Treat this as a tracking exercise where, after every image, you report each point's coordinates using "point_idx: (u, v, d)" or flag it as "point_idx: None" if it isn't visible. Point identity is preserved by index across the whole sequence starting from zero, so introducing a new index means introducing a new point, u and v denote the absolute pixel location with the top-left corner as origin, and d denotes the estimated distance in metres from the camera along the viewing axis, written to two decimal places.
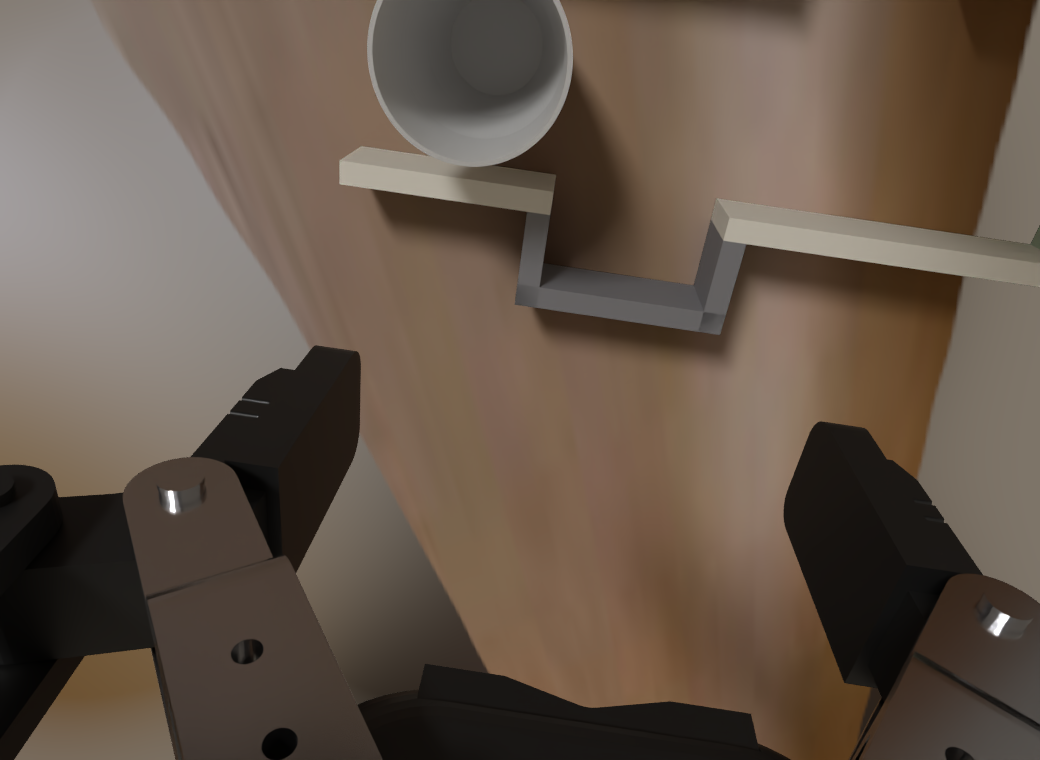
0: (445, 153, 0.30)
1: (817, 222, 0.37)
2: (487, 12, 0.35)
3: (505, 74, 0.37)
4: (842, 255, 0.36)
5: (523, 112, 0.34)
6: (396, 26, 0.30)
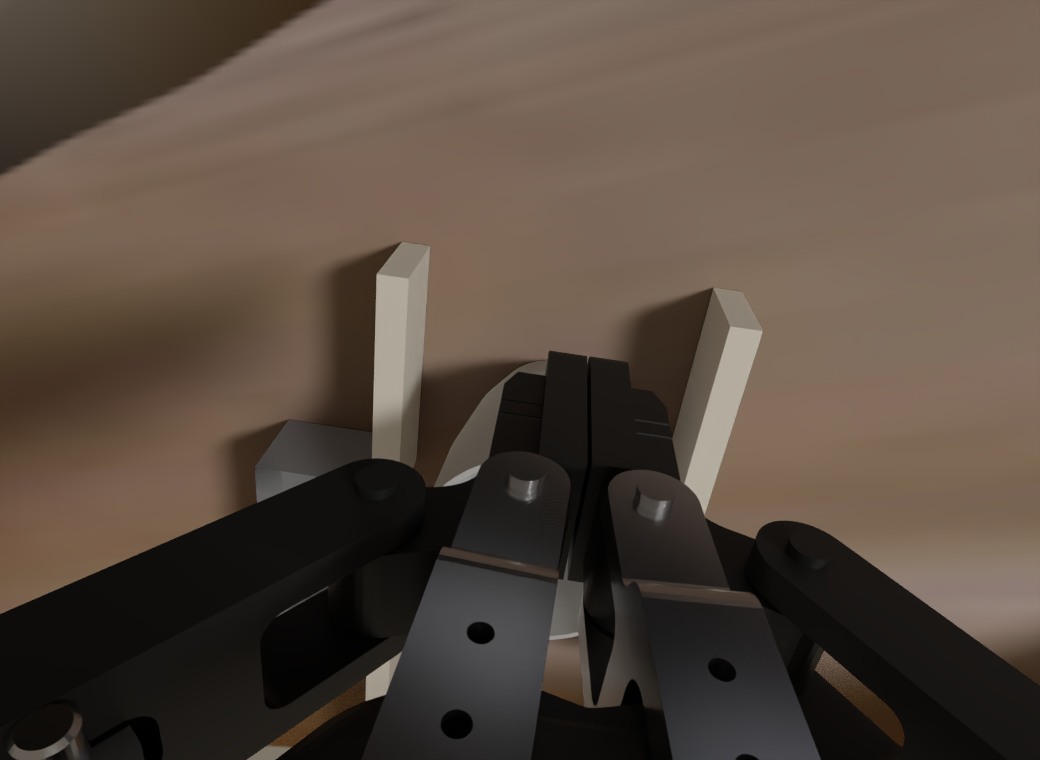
0: None
1: None
2: None
3: None
4: None
5: None
6: None
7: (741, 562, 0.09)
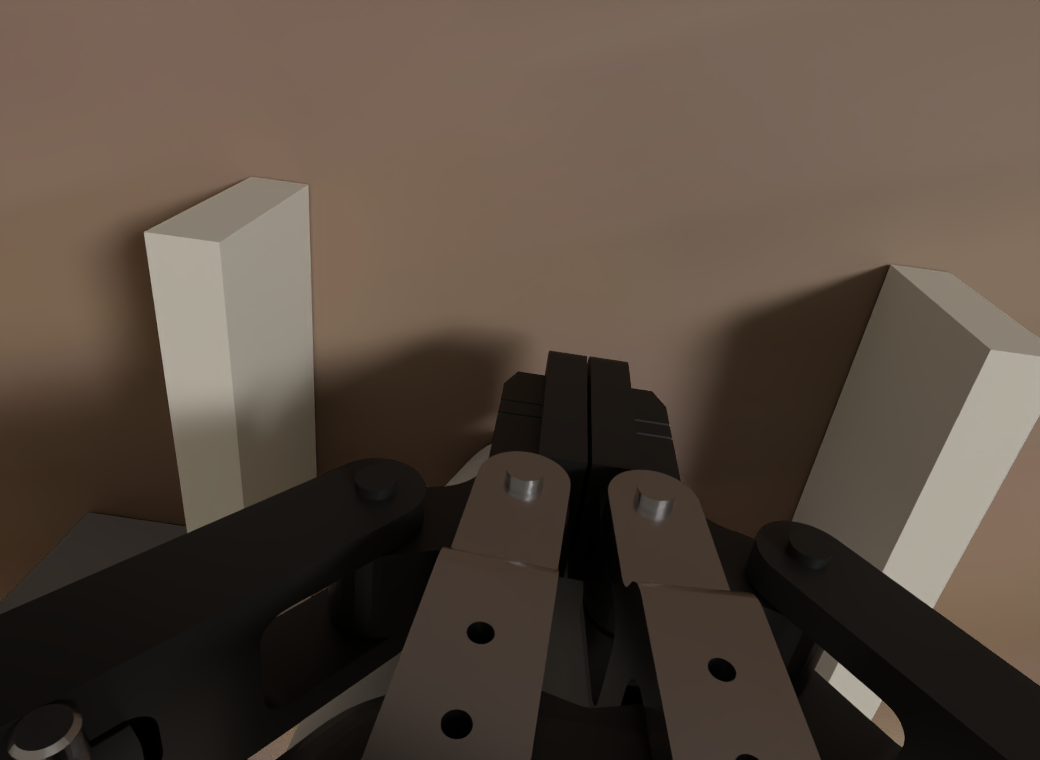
0: None
1: None
2: None
3: None
4: None
5: None
6: None
7: (741, 562, 0.09)
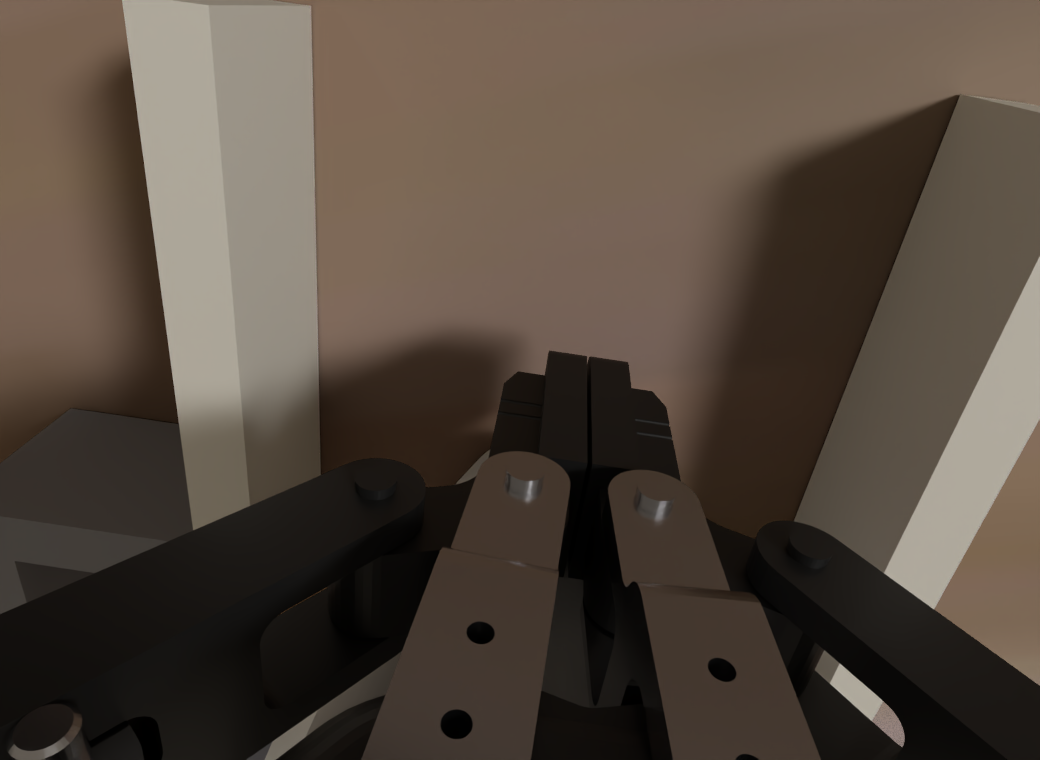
0: None
1: None
2: None
3: None
4: None
5: None
6: None
7: (741, 562, 0.09)
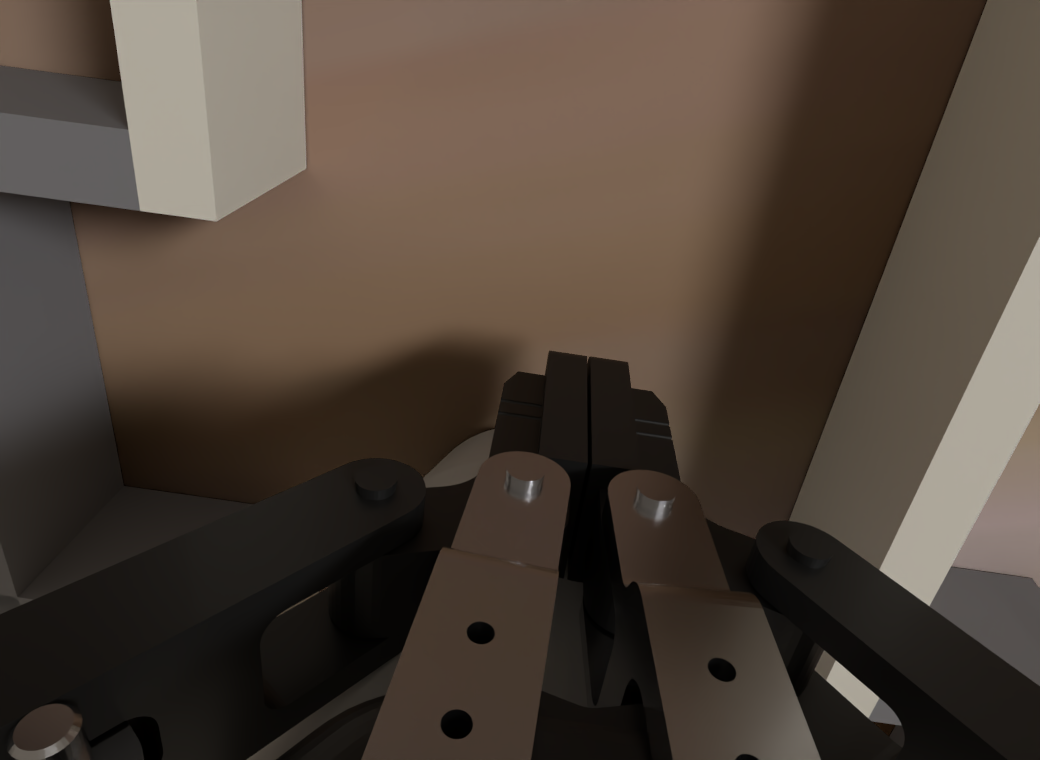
0: None
1: None
2: None
3: None
4: None
5: None
6: None
7: (741, 562, 0.09)
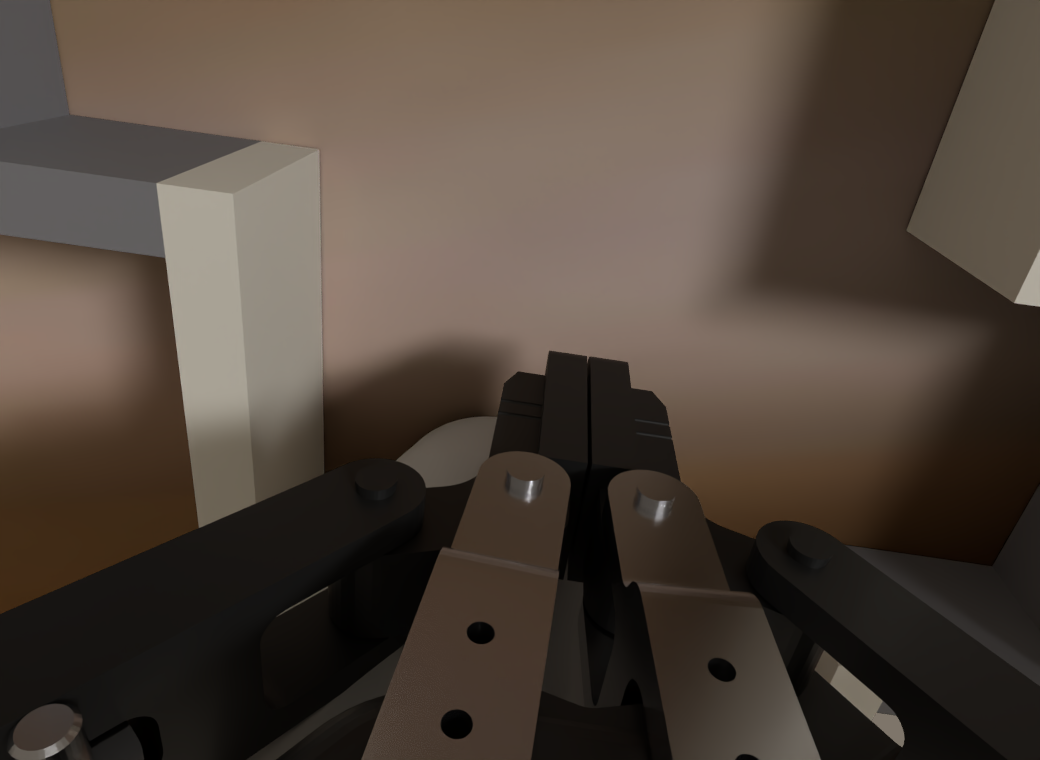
0: None
1: (287, 413, 0.15)
2: None
3: None
4: (202, 501, 0.14)
5: None
6: None
7: (741, 562, 0.09)
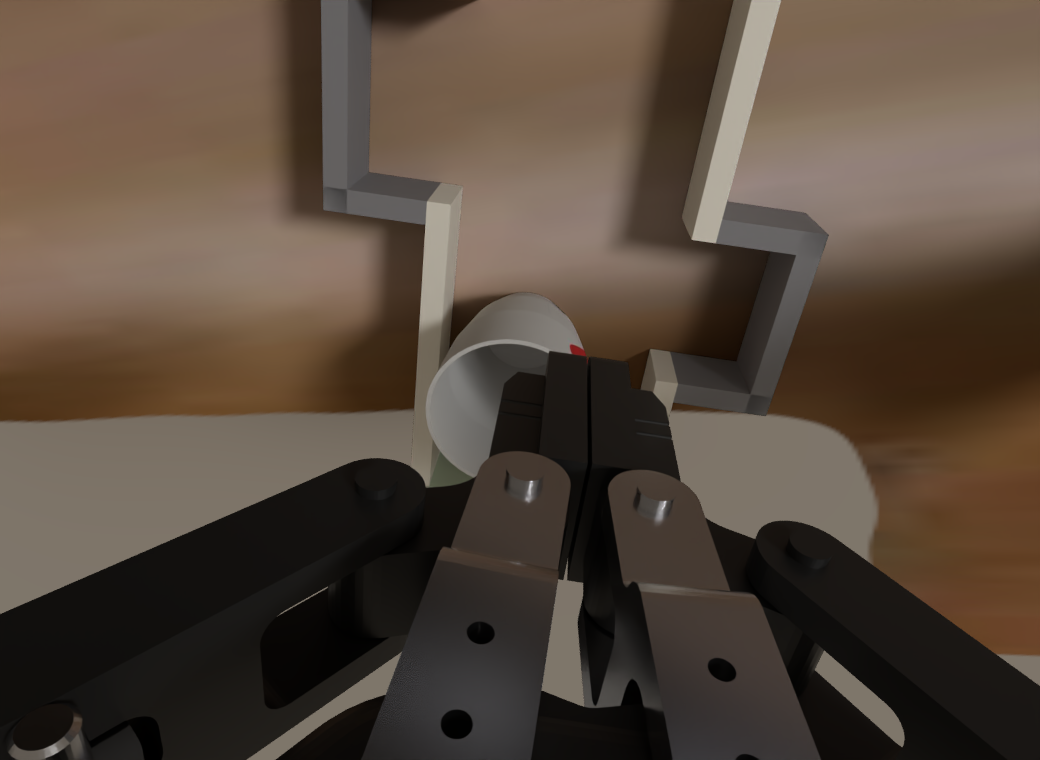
0: None
1: (449, 286, 0.39)
2: None
3: None
4: (422, 314, 0.38)
5: (464, 366, 0.39)
6: None
7: (741, 562, 0.09)
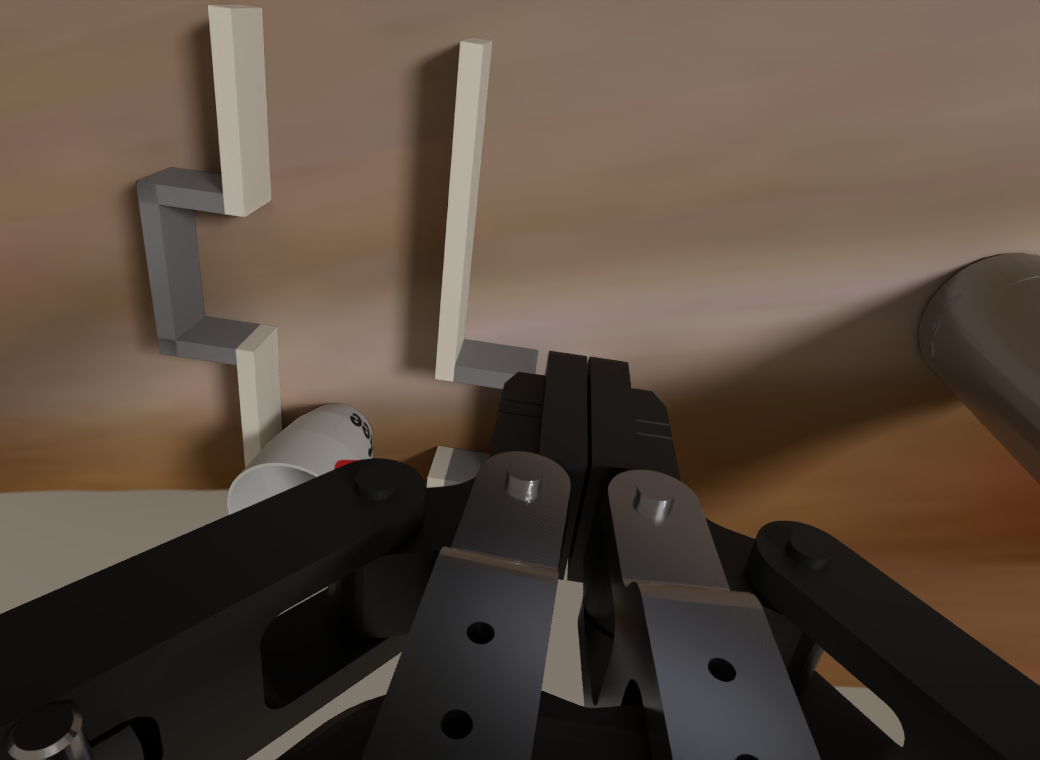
0: (240, 478, 0.44)
1: (268, 403, 0.50)
2: None
3: None
4: (243, 427, 0.49)
5: None
6: None
7: (741, 562, 0.09)
